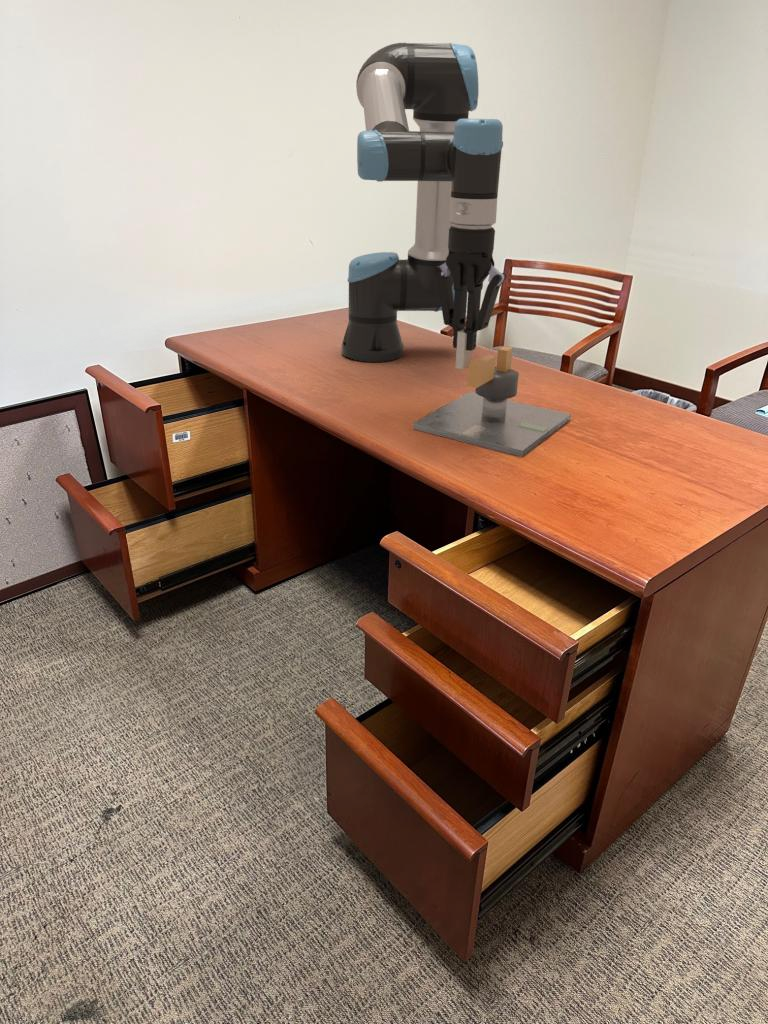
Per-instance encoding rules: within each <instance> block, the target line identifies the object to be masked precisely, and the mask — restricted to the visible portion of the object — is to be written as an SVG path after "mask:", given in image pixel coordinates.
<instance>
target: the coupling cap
mask: <svg viewBox="0 0 768 1024" xmlns="http://www.w3.org/2000/svg"><path fill="white" fill-rule="evenodd" d="M513 349H514V348H513V347H511V346H510V347H509V346H502V347H500V348H498V349H497V358H496V356H495V355H489V354H485V355H484V356H481V357H479V358H477V359H475V360H473V361H470V363H469V367H467V368H468V370H467V381H466V382H467V384H466V385H467V387H470V388H473V389H475V392H474V393H476V394H478V395H479V396H482V397H485V398H490V399H507V400H508V399H509V400H510V399H512V398H514V397H516V396H517V394H518V386H519V385H518V384H519V383H518V382H519V377H520V375H519V374H520V373H519V372H518V371H516V370H514V369H512V358H513Z"/></svg>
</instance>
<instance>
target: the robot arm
mask: <svg viewBox="0 0 768 1024" xmlns="http://www.w3.org/2000/svg"><path fill="white" fill-rule="evenodd" d="M478 70H479V69H478V64H477V58H476V54H475V52H474V50H473V49H472V47H470V46H469V45H466V44H457V43H452V42H448V43H426V42H425V43H420V42H418V43H416V42H415V43H413V42H412V43H410V42H409V43H408V42H397V43H392V44H388V45H386V46H384V47H382V48H380V49H378V50H376V51H375V52H374V53H372V54H371V55H370V56H369V57H367V59H366V60H365V62H363V64H362V66H361V67H360V69H359V72H358V74H357V77H356V95H357V98H358V103H360V105H361V107H362V108H363V114H364V123H365V124H364V125H365V130H362V131H360V132H359V134H357V138H356V139H357V141H356V142H357V143H356V144H357V145H356V152H357V153H356V156H357V157H356V158H357V160H356V163H357V165H356V166H357V175H358V177H359V178H360V180H361V179H362V180H364V181H376V182H417V187H416V191H417V192H416V209H415V210H416V211H415V213H416V214H415V231H414V233H415V234H414V235H415V236H414V243H413V245H412V246H411V247H410V248H409V249H408V250H407V259H400V257H399V255H398V253H397V252H395V251H394V252H393V251H392V252H391V251H390V252H387V251H381V252H372V253H367V254H362V255H359V256H356V257H354V258H352V260H351V261H350V262H349V265H348V275H347V276H348V277H347V283H348V322H347V323H348V324H347V327H346V330H345V333H344V336H343V340H342V342H341V355H342V354H343V355H344V356H346V357H348V358H347V359H349V358H351V359H350V360H352V359H354V360H353V361H357V360H359V361H358V362H364V361H365V362H366V363H367V362H368V363H381V362H382V363H383V362H389V361H394V360H395V361H396V360H397V359H400V358H401V357H403V356H404V343H403V340H402V339H403V338H402V337H401V336H402V335H401V332H400V329H399V326H398V312H403V311H404V312H435V313H436V312H442V313H441V314H442V319H443V324H444V325H446V326H449V327H450V328H452V330H453V332H452V333H453V338H452V347H453V349H456V353H455V355H456V356H455V369H457V370H462V371H463V370H465V369H467V368H469V363H471V362H472V361H471V360H472V359H471V358H472V351H474V350H476V347H477V334H478V332H479V331H481V330H484V329H486V328H488V326H489V323H490V321H491V316H492V314H493V310H494V308H495V304H496V301H497V298H498V294H499V291H500V289H501V286H502V285H503V284H504V282H505V281H506V279H507V274H506V273H505V272H500V271H499V269H497V268H496V267H495V261H494V257H493V253H494V247H495V236H496V230H495V228H494V227H492V226H494V225H495V224H496V223H497V211H498V196H499V184H500V183H499V182H500V173H501V160H502V159H501V158H502V152H503V151H502V150H503V147H504V141H503V131H504V129H503V127H504V126H503V122H502V121H501V120H500V119H497V118H469V114H470V113H469V112H474V111H475V110H476V109H477V107H478V101H479V100H478V99H479V89H480V88H479V73H478V72H479V71H478ZM406 110H413V111H412V112H413V116H412V120H413V121H414V122H415V124H416V125H417V126H418V129H419V131H417V130H415V131H414V130H413V131H411V130H410V129H409V124H408V117H407V114H406ZM488 276H489V277H488ZM487 277H488V284H487V287H486V290H485V293H484V296H483V299H482V303H481V297H482V290H483V287H484V282H485V280H486V279H487ZM343 355H342V356H343ZM344 356H343V357H344ZM346 357H345V358H346Z"/></svg>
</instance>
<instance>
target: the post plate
mask: <svg viewBox="0 0 768 1024" xmlns="http://www.w3.org/2000/svg"><path fill="white" fill-rule="evenodd" d="M571 415H572V414H571V413H568V412H564V411H559V410H554V409H549V408H546V407H541V406H536V405H533V404H527V403H522V402H518V401H514V400H510V399H509V400H508V399H490V398H485V397H482V396H479V395H478V394H476V392H473V391H469V392H467V393H465V394H463V395H461V396H459V397H458V398H456V399H454V400H452V401H451V402H449V403H447V404H445V405H443V406H442V407H440V408H438V409H436V410H433V411H432V412H430V413H429V414H427V415H425V416H423V417H421V418H419V419H417V420H416V421H414V422H413V424H412V429H413V430H415V431H419V432H423V433H427V434H431V435H434V436H435V435H436V436H439V437H442V438H447V439H450V440H454V441H458V442H463V443H466V444H469V445H474V446H478V447H482V448H486V449H488V450H489V449H490V450H493V451H498V452H501V453H504V454H505V453H506V454H509V455H513V456H515V457H516V456H517V457H520V458H523V457H524V456H525V455H526V454H528V453H529V452H530V451H532V450H533V449H535V448H536V447H537V446H538V445H540V444H541V443H542V442H544V441H545V440H546V439H547V438H549V437H550V436H551V435H552V434H554V433H556V431H558V430H560V428H561V427H563V426H564V425H565V424H567V423H568V422H569V421H571V418H572V417H571Z"/></svg>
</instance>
